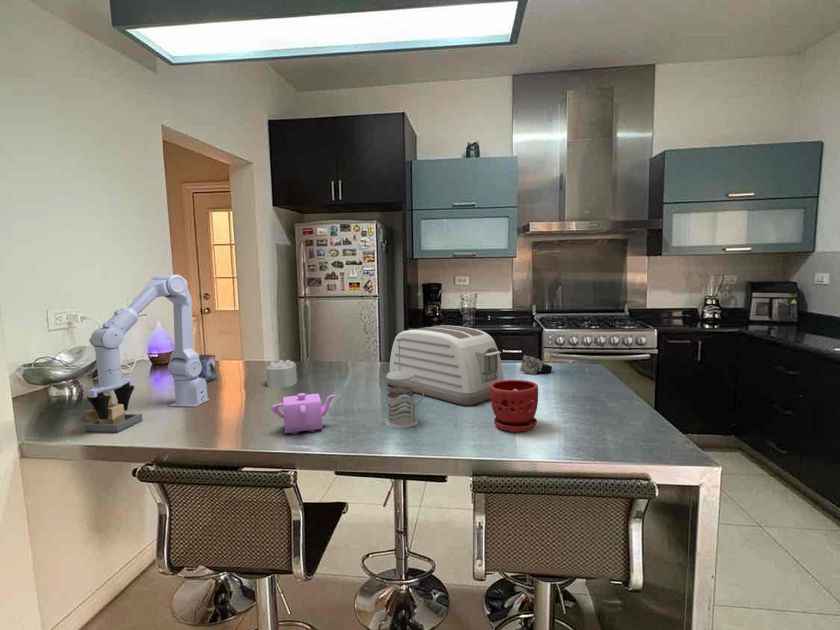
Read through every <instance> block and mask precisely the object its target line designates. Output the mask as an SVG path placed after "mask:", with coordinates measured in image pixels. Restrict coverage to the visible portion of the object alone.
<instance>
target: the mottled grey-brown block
mask: <svg viewBox="0 0 840 630" xmlns="http://www.w3.org/2000/svg"><path fill="white" fill-rule="evenodd" d="M552 369H553V366H552V365H549V364H547V363H545V362H544V361H541V359H539V358H537V357H535V356H530V355H529V356H528V355H525V354H524V355H523V356H522V361H521V365H520V369H519V371H520V372H523V373H526V374H529V375H533V376H537V374H538V373H537V372H539V373H542V372H543V373H546V374H547V373H549V374H550V373H551V372H552Z"/></svg>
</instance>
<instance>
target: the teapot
mask: <svg viewBox="0 0 840 630" xmlns="http://www.w3.org/2000/svg"><path fill="white" fill-rule="evenodd" d="M336 396H337V394H330V395H329V396H327V397H326V399H325V402H324V405H323V406H322V400H321V397H320V394H319V393H311V394H310V393H309V394H306V393H305V392H301V393H297V394H296V395H290V396H283V397H282V400H283V401H282V402H280V403H276V404H275V403H274V405H272V406H271V408H270V409H271V411H272V412H273V414H274V415H276V416H277V417H279V418H281V419H282V420H283V423H284V426H283V427H284V434H289V433H290V434H292V435H296V434H299V433H300V432H310V433H311V432H312V433H313V432H316V431H317V430H323V417H325V416H326V414H327V413H328V410H329V408H330V407H329V406H330V403H331V402H332V399H333V398H334V397H336ZM279 407H282V408H283V413H281V412H280V411H279Z"/></svg>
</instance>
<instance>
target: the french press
mask: <svg viewBox="0 0 840 630" xmlns="http://www.w3.org/2000/svg"><path fill="white" fill-rule="evenodd" d="M395 338H396V337H395ZM396 341H399V366H400V341H402V338H401V337H397V338H396ZM413 377H414V374H412V373H411V372H408V371H406V370H396V371H393V372H391V373H389V374H388V375H387V374H386V376H385V378H386V380H387V379H389V380H393V381H400V386H396V387H393V386H391V387H390V388H389V389H387V392H388V393H387V397H386V398H387V419H386V420H385V421H384V425H385V426H387V427H389V428H393V429H394V428H395V429H405V428H406V429H408V428H411V427H414V426H416V425H418V423H419V420H418V418H417V417H416V407H417V406H418V405H420V404H421V403H423V400H424V397H425V395H424V388H423V386H422V384H421V383H420V382H419V381H418V382H419V383H420V384H421V385H420V384H419V383H418V382H416V381H417V380H416V381H415V380H413V385H414V382H416V383H418V384H419V385H420V386H421V388H422V390H423V394H422V397H421V399H420V400H419V401H417V402H415V392H412V391H413V389H412V388H411V387H402V386H401V381H404V380H409V379H412V378H413ZM405 395H406V396H405ZM407 396H409V397H407Z"/></svg>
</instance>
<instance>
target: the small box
mask: <svg viewBox="0 0 840 630" xmlns="http://www.w3.org/2000/svg"><path fill="white" fill-rule="evenodd" d="M198 355H199V360H200V362H201V365H202V370H201V373H200V374H199V378H203V379H205V381H206V384H209V383H211V382H213V381H216V380H217V379H218V378H217V365H216V364H217V363H216V355H215V354H198Z"/></svg>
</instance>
